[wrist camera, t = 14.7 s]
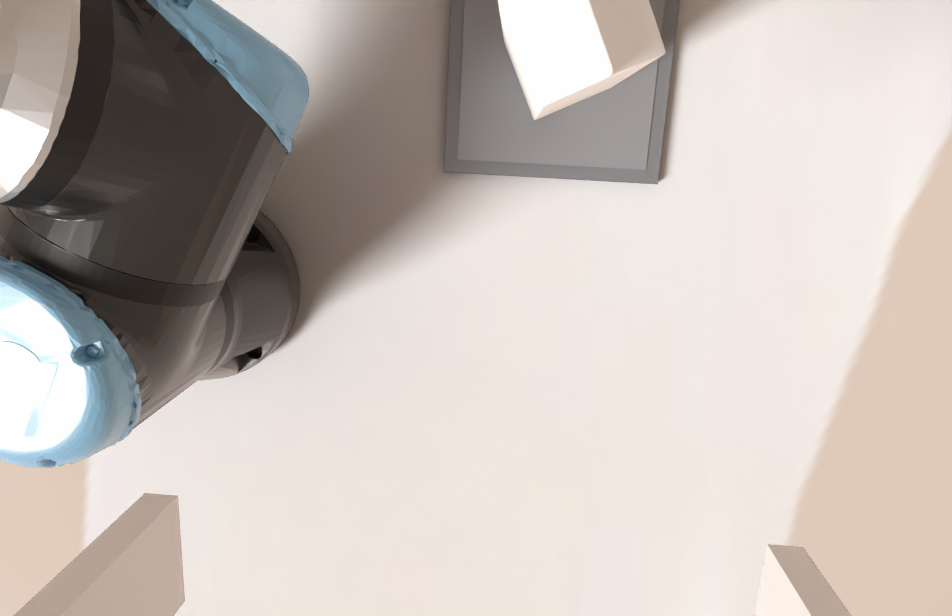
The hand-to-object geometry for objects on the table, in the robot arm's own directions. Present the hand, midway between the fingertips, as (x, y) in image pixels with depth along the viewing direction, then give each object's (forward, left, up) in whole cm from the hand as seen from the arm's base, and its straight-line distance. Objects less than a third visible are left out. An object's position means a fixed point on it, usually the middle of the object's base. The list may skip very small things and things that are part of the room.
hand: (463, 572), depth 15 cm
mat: (+3, +15, -39) cm, 42 cm away
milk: (+3, +15, -38) cm, 41 cm away
